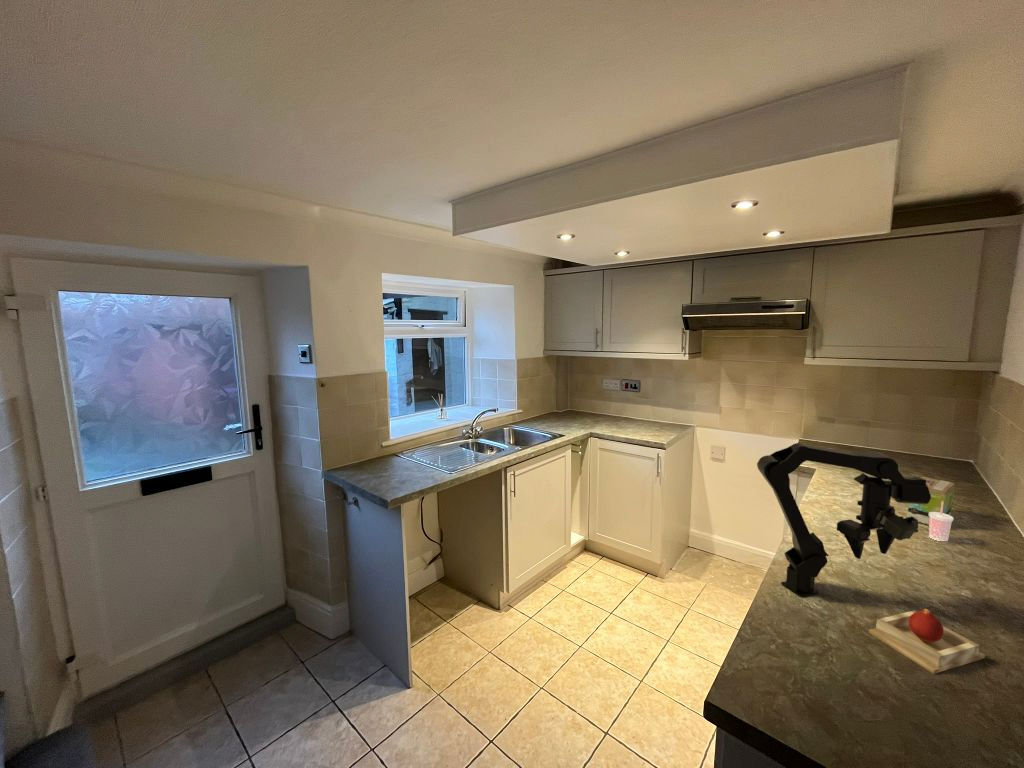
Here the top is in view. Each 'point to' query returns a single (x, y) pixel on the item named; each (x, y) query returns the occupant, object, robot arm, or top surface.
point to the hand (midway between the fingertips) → (870, 555)
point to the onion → (926, 626)
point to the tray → (926, 644)
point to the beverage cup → (939, 525)
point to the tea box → (934, 500)
